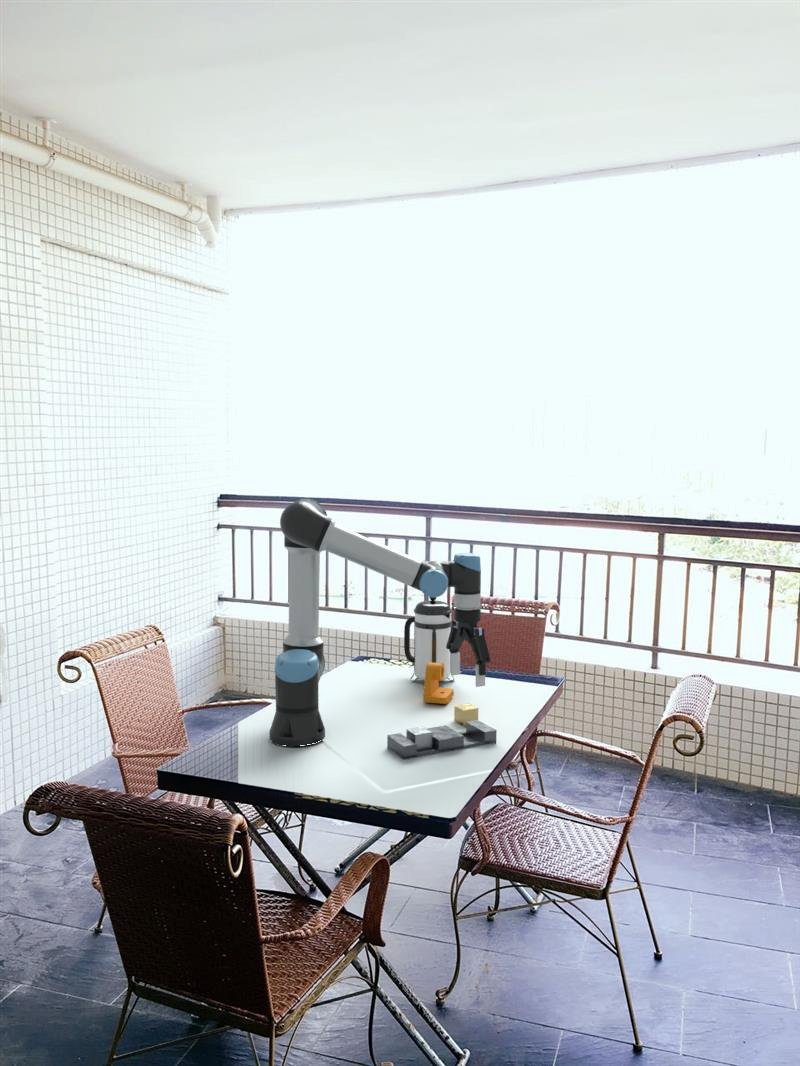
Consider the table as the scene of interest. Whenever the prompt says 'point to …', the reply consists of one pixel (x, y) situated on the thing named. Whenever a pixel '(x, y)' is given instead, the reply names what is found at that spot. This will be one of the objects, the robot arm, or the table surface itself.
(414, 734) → the brushed aluminum cube
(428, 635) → the coffee press
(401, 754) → the grey stepped block holder
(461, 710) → the sand colored cube
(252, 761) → the table surface
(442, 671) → the bracket
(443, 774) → the table surface
